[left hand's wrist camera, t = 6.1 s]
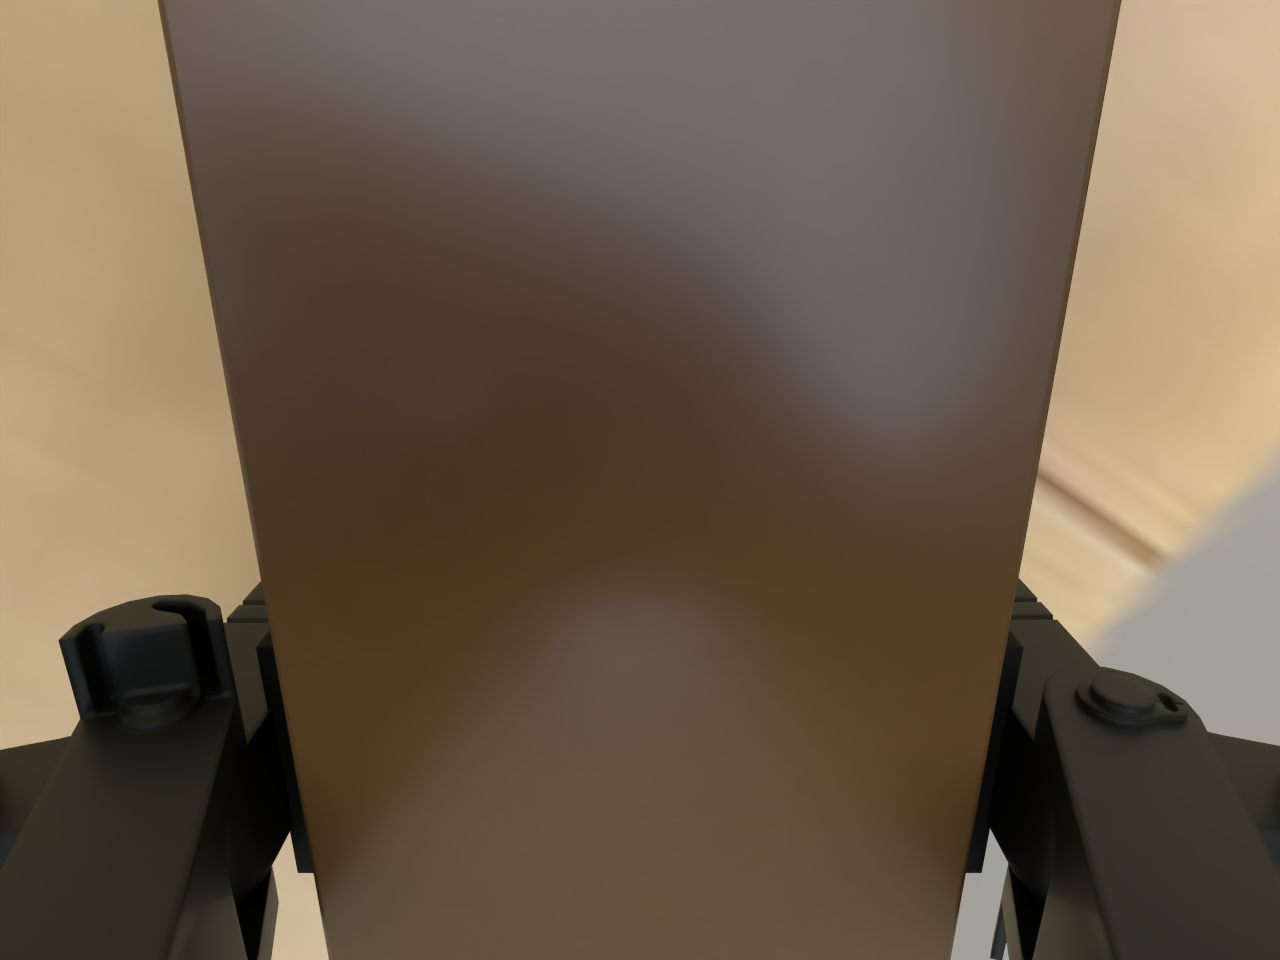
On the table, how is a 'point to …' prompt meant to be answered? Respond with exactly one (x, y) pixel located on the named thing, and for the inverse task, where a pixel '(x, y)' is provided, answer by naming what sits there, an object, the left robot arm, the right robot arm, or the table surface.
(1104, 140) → the table surface
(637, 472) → the beam
